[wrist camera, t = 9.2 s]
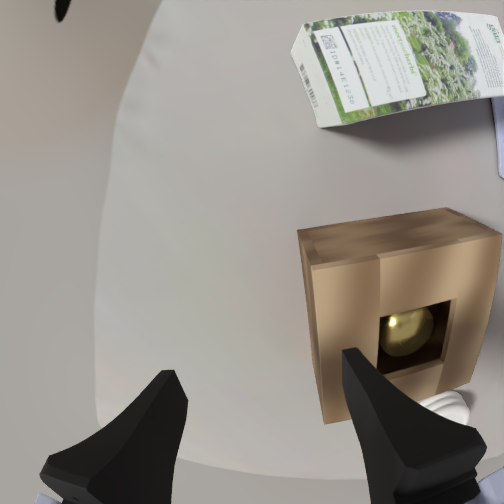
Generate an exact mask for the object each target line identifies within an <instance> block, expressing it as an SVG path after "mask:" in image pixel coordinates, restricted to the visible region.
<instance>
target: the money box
mask: <svg viewBox="0 0 504 504" xmlns="http://www.w3.org/2000/svg"><path fill="white" fill-rule="evenodd" d="M297 233H298V240H299V247H300V254H301V262H302V270H303V277H304V286H305V294H306V302H307V311H308V320H309V330H310V340H311V350H312V360H313V367H314V373H315V378H316V383H317V388H318V394H319V399H320V404H321V410H322V415H323V421H324V424H330V423H335V422H341V421H345V420H350V419H352V418H351V415H350V412H349V410H348V407H347V404H346V399H345V395H344V390H343V385H342V350H344V349H349V348H354V347H357V348H358V349H359V350H360V351H361V352H362V354H363V355H364V356H365V357H366V358H367V359H368V360H369V361H370V363H371V364H372V365H373V366H374V367H375V368H376V369H377V370H378V371H379V372H380V373H381V374H382V375H383V376H384V377H385V378H386V379H388V380H389V381H390V382H391V383H392V384H393V385H394V386H396V387H397V388H398V389H399V390H400V391H402V392H403V393H404V394H406V395H407V396H408V397H410V398H411V399H413V400H414V401H416V402H418V401H421V400H424V399H427V398H430V397H433V396H435V395H438V394H441V393H444V392H446V391H449V390H452V389H454V388H457V387H459V386H462V385H464V384H466V383H469V382H470V379H471V377H472V374H473V371H474V368H475V365H476V362H477V359H478V356H479V353H480V349H481V346H482V343H483V339H484V335H485V332H486V328H487V324H488V320H489V316H490V311H491V307H492V302H493V297H494V292H495V287H496V281H497V275H498V268H499V261H500V253H501V244H502V234H501V233H499V232H497V231H495V230H493V229H491V228H489V227H487V226H485V225H483V224H481V223H479V222H477V221H475V220H473V219H471V218H469V217H467V216H464V215H462V214H460V213H458V212H456V211H453V210H451V209H449V208H440V209H433V210H426V211H419V212H412V213H405V214H399V215H392V216H385V217H378V218H372V219H365V220H359V221H352V222H346V223H339V224H333V225H326V226H320V227H314V228H307V229H301V230H297ZM421 307H426V308H427V309H428V310H429V311H430V313H431V314H432V317H433V329H432V332H431V335H430V337H429V338H428V340H427V341H426V342H425V344H424V345H423V346H422V347H420V348H419V349H418V350H416V351H415V352H413V353H411V354H409V355H405V356H398V357H397V356H391V355H389V354H387V353H386V352H385V351H384V350H383V348H382V346H381V344H380V342H379V321H380V317H383V316H388V315H392V314H396V313H401V312H405V311H409V310H413V309H417V308H421Z"/></svg>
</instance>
